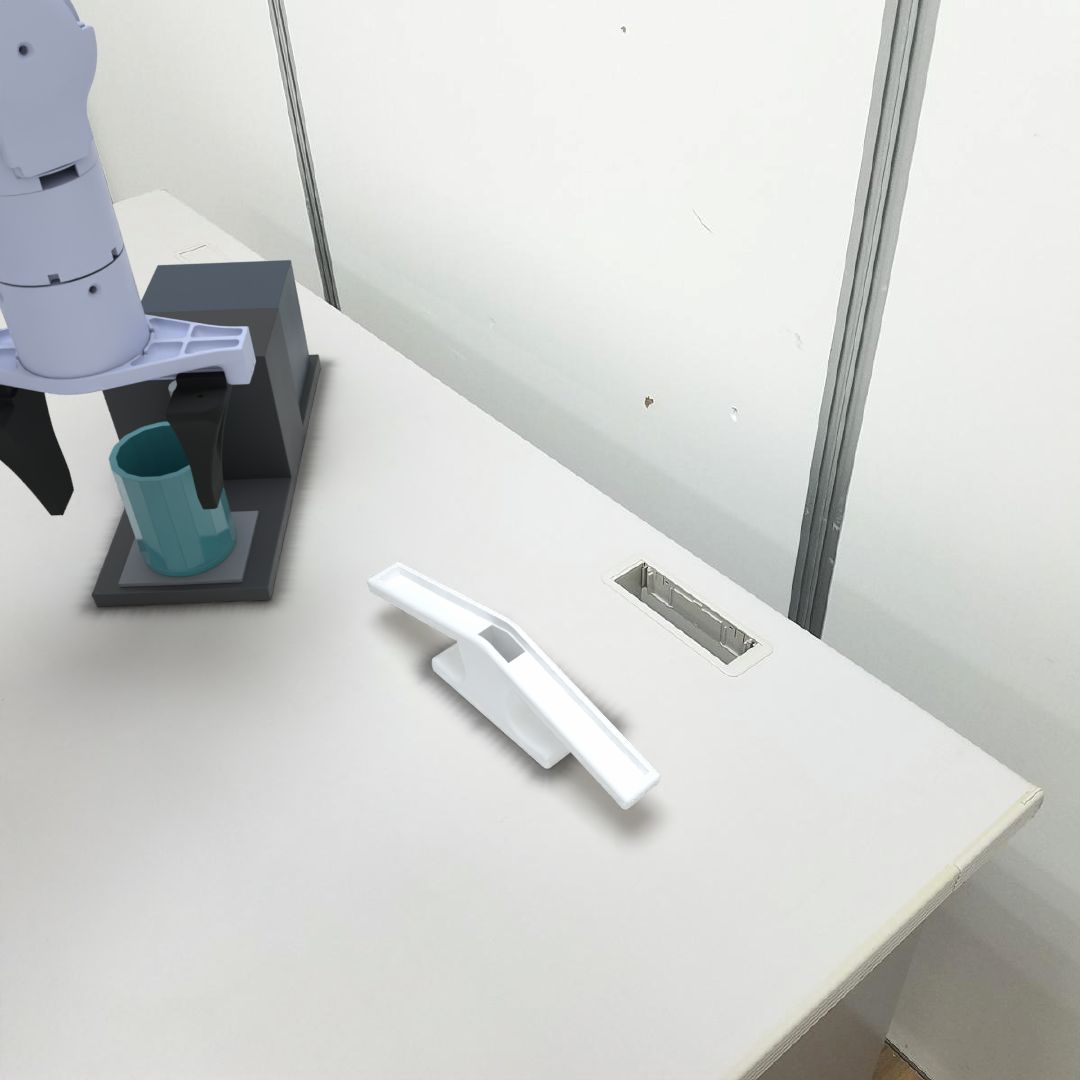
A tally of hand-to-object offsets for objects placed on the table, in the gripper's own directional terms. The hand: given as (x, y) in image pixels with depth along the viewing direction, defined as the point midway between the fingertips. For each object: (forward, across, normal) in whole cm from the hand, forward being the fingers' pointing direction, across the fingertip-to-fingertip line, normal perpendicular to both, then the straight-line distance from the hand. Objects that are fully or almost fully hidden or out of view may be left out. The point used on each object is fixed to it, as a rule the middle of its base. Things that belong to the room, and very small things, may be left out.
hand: (137, 500), depth 58 cm
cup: (+8, 0, -5) cm, 9 cm away
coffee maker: (+9, 0, -14) cm, 17 cm away
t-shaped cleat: (+9, -19, +6) cm, 22 cm away
